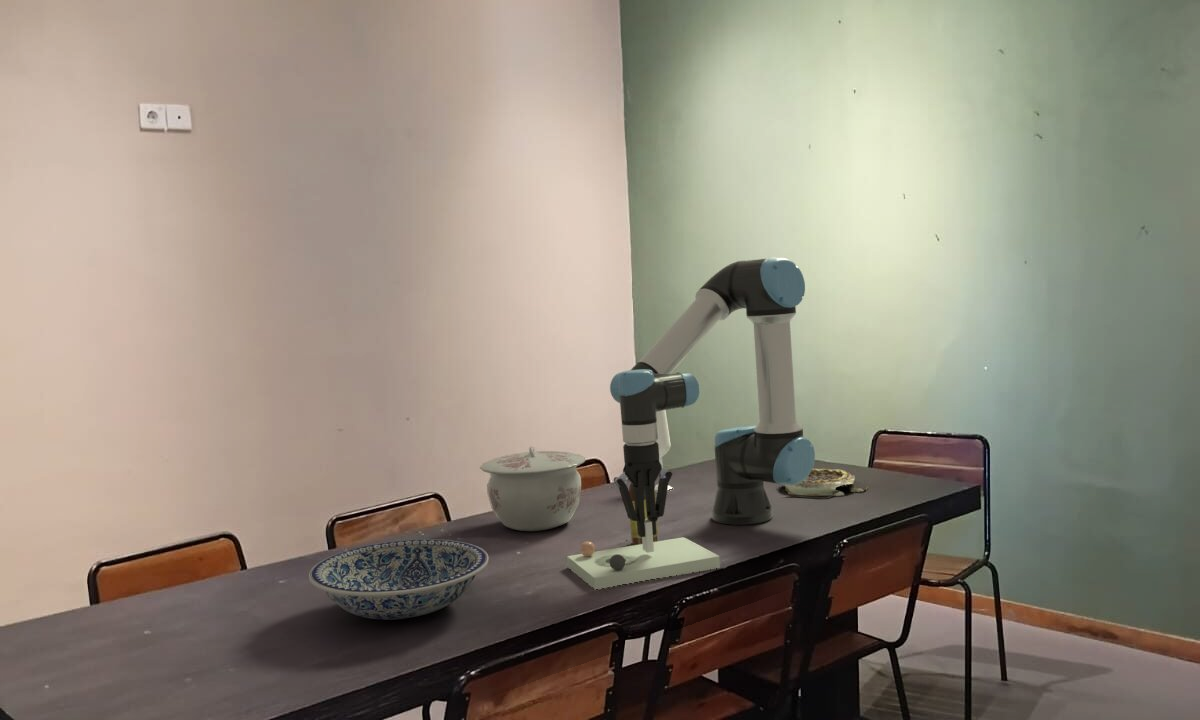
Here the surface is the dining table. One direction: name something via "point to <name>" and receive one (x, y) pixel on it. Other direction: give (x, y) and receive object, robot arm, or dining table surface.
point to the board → (643, 563)
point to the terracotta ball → (587, 548)
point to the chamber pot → (534, 488)
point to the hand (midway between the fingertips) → (648, 550)
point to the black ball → (617, 562)
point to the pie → (823, 483)
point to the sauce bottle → (634, 532)
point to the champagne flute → (662, 437)
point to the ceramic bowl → (399, 576)
